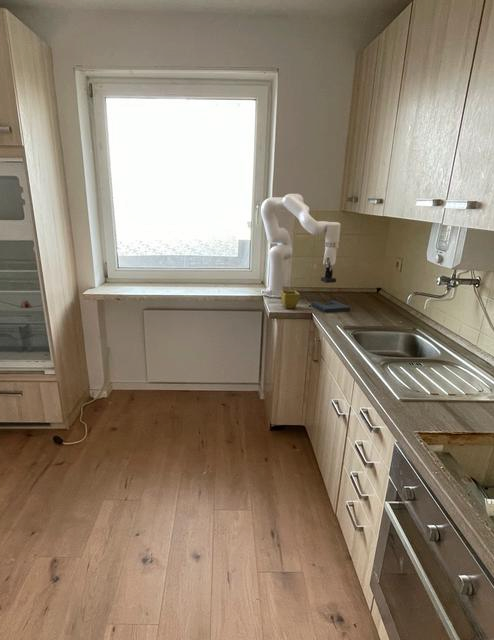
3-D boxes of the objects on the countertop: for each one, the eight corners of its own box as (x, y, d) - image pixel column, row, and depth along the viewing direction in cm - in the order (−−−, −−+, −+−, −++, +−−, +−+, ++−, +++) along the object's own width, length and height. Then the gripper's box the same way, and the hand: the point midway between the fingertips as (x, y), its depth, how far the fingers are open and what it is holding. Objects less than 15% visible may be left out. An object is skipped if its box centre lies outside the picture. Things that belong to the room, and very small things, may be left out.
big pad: (324, 312, 234) (325, 309, 233) (311, 305, 248) (311, 302, 247) (349, 310, 238) (350, 307, 237) (335, 303, 252) (335, 300, 252)
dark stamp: (326, 282, 240) (327, 268, 237) (320, 280, 246) (321, 267, 243) (335, 282, 242) (337, 268, 239) (330, 280, 248) (331, 266, 245)
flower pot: (293, 305, 248) (295, 290, 245) (298, 309, 240) (299, 293, 237) (279, 305, 247) (280, 290, 243) (284, 309, 239) (285, 294, 235)
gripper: (329, 243, 245) (325, 274, 251) (321, 246, 231) (318, 279, 238) (341, 244, 241) (338, 275, 248) (334, 246, 228) (331, 280, 235)
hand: (328, 277), depth 243 cm, fingers closed on dark stamp, 2 cm apart
